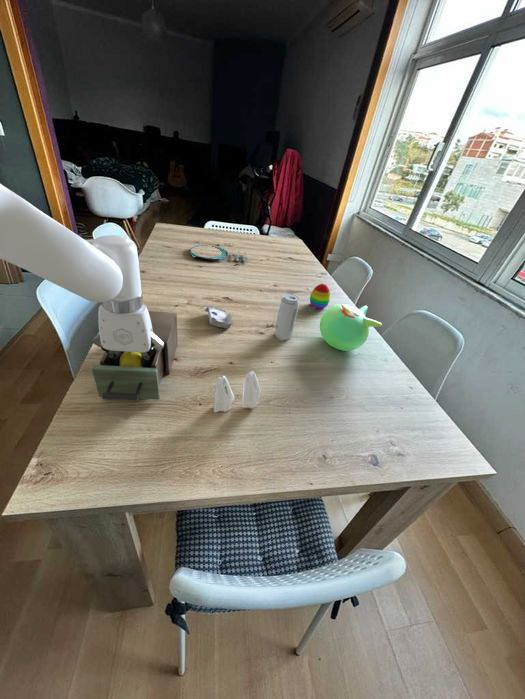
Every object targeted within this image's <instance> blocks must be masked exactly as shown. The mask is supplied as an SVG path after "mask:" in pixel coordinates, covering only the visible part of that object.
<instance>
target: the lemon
mask: <svg viewBox="0 0 525 699" xmlns="http://www.w3.org/2000/svg"><path fill="white" fill-rule="evenodd" d="M142 358H143V356H142V355H141V353H140V352H126V351H125V352H124V353H123V354H122V355H121V357H120V361H119V366H123V367H141V368H143V367H142Z"/></svg>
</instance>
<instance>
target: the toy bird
mask: <svg viewBox="0 0 525 699" xmlns="http://www.w3.org/2000/svg"><path fill="white" fill-rule="evenodd" d="M367 313H368V306H367V305H363V306H361V307H360V308H357V307H355V306H352V305H350V304H344V303H341V304H340V303H339V304H334V305H332V306H330V307H329V308H327V309H326V310H325V311H324V312H323V314H322V316H321V318H320V322H319V331H320V334H321V337H322V338H323V340H324V341H325V342H326V343H327V344H328V345H329V346H331V347H332V348H334V349H336V350H339V351H344V352H345V351H348V352H349V351H353V350H357V349H358V348H360V347H361V346H363V345H364V344H365V342H366V341H367V339H368V337H369V333H370V328H371V327H377V328H378V327H382V326H383V324H382V322H379V321H377V320H374V319H372V318H368V317H366V315H367Z"/></svg>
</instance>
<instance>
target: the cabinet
mask: <svg viewBox="0 0 525 699" xmlns="http://www.w3.org/2000/svg"><path fill="white" fill-rule="evenodd" d="M148 312H149V316H150V319H151V324H152V329H153V334H155V335H156V336H157V337H158V338H159V339H160V340H161V341H162V342H163V343H164V350H165V364H166V365H165V369H164V372H163V375H168V376H169V375H170V373H171V369H172V366H173V361H174V358H175V354H176V351H177V348H178V342H179V340H178V316H177V315H178V314H177V312H170V311H169V312H167V311H156V310H148ZM151 344H153V343H152V342H151Z"/></svg>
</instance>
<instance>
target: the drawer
mask: <svg viewBox="0 0 525 699" xmlns="http://www.w3.org/2000/svg"><path fill="white" fill-rule="evenodd" d="M152 346H154V344H151V347H152ZM151 347H150V348H151ZM124 352H125V351H121V355H122V354H123V353H124ZM140 353H141V352H140ZM141 355H142V354H141ZM165 365H166V364H165V350H164V346H163V348H162V349H161V350H159V351H157V352H156V353H155V354H154V355H152V356H151V367H150V368H141V367H123V366H113V364H112V359H111V357H109V356H108V353H106V352H105V351H104V354H103V355H102V356H101V358H100V360H99V364H93V365H92V367H91V371H92V375H93V378H94V383H95V387H96V390H97V394H98V397H99V398H102V400H106V401H107V400H108V401H130V402H133V401H134V402H138V401H139V399H142V400H160V397H161V391H160V385H161V382H162V378H163V375H164V374H163V372H164V369H165Z"/></svg>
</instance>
